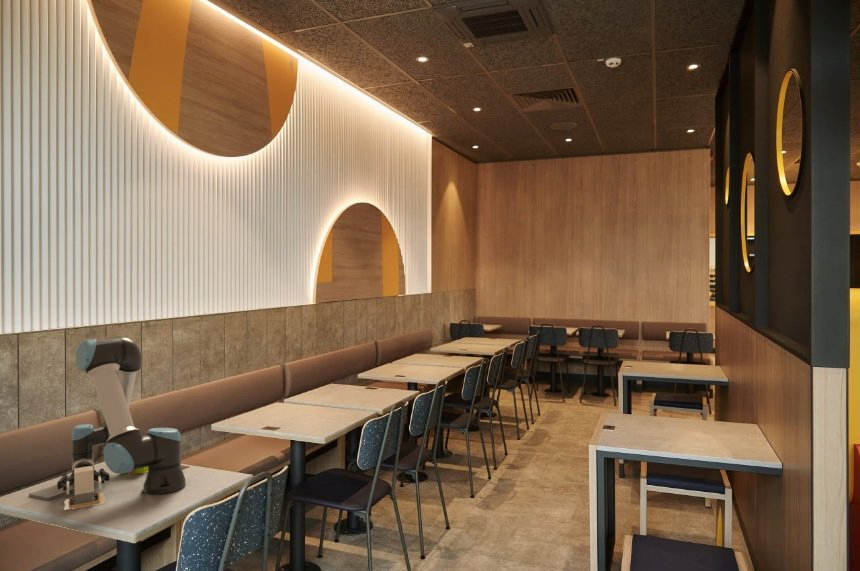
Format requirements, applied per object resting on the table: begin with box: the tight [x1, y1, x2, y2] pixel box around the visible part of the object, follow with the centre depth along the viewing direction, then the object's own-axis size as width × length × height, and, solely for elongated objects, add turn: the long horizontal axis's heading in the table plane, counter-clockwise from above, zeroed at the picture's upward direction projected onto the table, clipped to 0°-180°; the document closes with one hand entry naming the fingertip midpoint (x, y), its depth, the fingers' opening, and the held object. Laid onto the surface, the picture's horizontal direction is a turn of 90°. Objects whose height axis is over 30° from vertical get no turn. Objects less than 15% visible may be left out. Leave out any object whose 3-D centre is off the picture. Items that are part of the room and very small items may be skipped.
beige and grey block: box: [73, 466, 95, 505], centre depth 215 cm, size 6×6×12 cm
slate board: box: [28, 484, 75, 501], centre depth 224 cm, size 11×11×1 cm
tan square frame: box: [68, 491, 106, 510], centre depth 216 cm, size 13×13×1 cm
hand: (84, 487), depth 212 cm, fingers open, 9 cm apart
